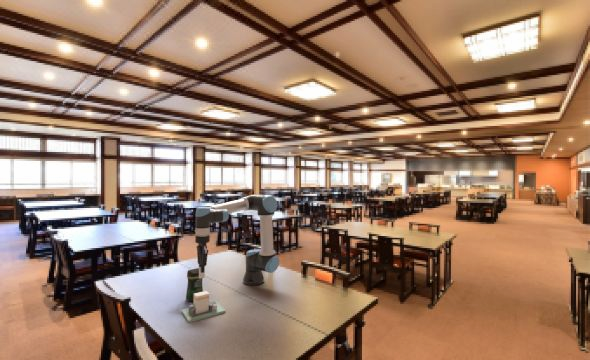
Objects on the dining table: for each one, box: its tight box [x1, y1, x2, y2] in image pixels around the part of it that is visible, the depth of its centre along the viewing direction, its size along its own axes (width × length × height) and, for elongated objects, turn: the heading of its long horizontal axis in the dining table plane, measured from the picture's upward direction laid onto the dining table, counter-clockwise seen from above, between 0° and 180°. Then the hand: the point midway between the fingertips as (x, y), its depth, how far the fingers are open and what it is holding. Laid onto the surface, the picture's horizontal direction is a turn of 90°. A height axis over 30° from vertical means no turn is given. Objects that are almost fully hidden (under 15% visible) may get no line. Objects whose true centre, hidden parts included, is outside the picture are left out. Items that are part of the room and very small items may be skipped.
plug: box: [192, 290, 210, 314], centre depth 150 cm, size 7×5×10 cm, turn 127°
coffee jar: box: [185, 267, 204, 302], centre depth 169 cm, size 10×8×19 cm
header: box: [188, 301, 213, 317], centre depth 150 cm, size 11×7×4 cm, turn 127°
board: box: [181, 300, 227, 324], centre depth 152 cm, size 20×14×4 cm
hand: (201, 277), depth 151 cm, fingers closed
